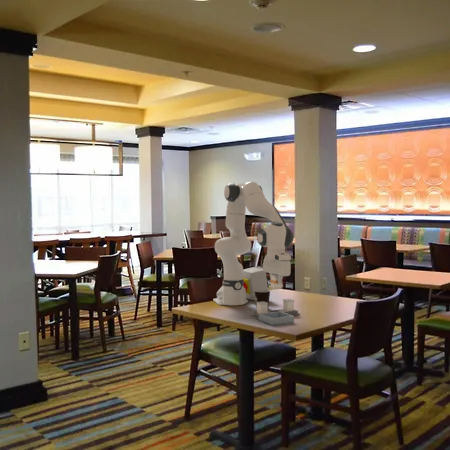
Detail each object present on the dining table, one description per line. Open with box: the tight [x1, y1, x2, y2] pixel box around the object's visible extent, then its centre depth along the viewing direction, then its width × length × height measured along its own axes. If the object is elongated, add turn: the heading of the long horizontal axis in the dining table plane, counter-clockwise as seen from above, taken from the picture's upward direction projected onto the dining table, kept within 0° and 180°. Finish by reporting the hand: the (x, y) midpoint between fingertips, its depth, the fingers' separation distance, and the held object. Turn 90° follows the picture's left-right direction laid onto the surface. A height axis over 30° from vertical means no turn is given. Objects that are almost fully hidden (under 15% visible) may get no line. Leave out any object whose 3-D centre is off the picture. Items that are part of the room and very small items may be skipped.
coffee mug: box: [255, 289, 271, 309], centre depth 295 cm, size 12×9×10 cm
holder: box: [250, 308, 301, 321], centre depth 275 cm, size 8×25×2 cm, turn 116°
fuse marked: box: [269, 273, 283, 290], centre depth 261 cm, size 4×4×7 cm
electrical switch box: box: [243, 265, 269, 302], centre depth 321 cm, size 15×15×20 cm
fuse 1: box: [256, 301, 269, 314], centre depth 272 cm, size 4×4×7 cm
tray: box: [258, 311, 295, 327], centre depth 262 cm, size 13×13×4 cm
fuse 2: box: [282, 298, 295, 311], centre depth 279 cm, size 4×4×7 cm
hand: (276, 283), depth 261 cm, fingers closed on fuse marked, 4 cm apart
